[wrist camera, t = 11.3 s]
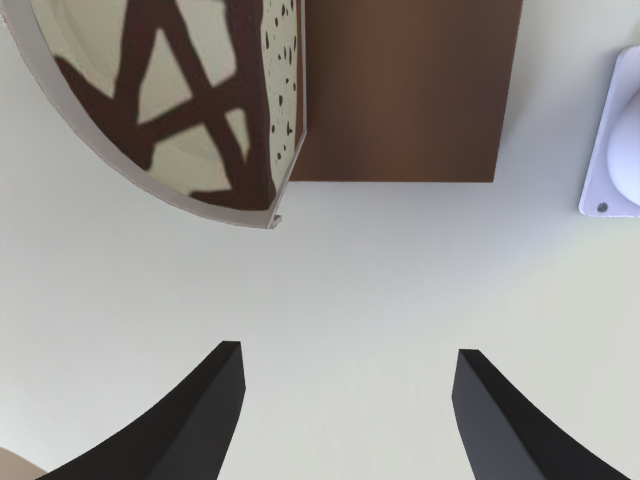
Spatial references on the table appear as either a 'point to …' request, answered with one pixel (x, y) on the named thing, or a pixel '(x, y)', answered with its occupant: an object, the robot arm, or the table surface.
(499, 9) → the walnut board
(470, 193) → the table surface
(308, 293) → the table surface
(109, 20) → the food container
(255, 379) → the table surface
